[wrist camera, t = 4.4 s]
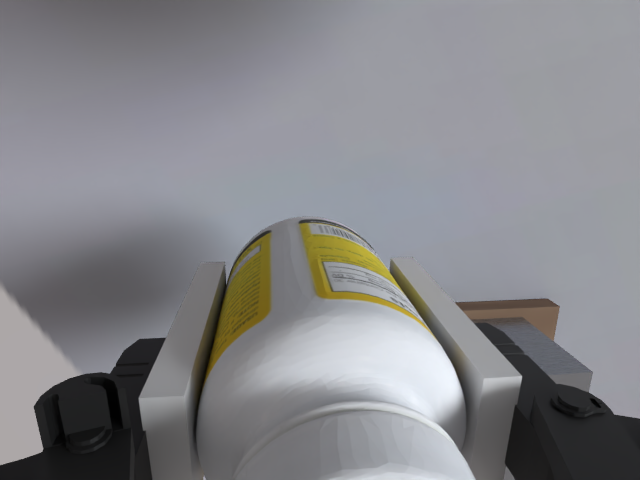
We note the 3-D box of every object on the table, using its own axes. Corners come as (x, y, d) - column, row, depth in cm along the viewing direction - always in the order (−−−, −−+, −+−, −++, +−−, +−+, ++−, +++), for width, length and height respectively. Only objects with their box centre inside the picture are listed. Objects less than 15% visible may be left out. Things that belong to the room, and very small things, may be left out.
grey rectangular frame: (358, 324, 21) (385, 386, 16) (534, 316, 22) (608, 371, 17) (350, 526, 25) (370, 625, 20) (503, 510, 26) (556, 600, 21)
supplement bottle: (253, 370, 16) (223, 757, 6) (208, 235, 14) (77, 496, 5) (394, 334, 16) (566, 660, 7) (366, 195, 14) (547, 370, 5)
